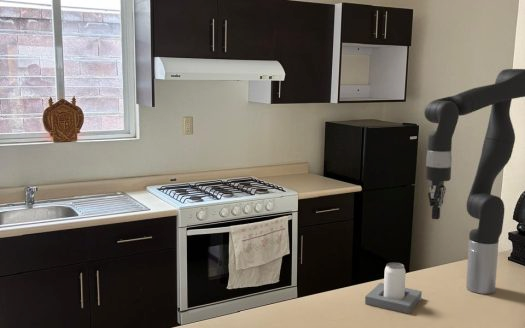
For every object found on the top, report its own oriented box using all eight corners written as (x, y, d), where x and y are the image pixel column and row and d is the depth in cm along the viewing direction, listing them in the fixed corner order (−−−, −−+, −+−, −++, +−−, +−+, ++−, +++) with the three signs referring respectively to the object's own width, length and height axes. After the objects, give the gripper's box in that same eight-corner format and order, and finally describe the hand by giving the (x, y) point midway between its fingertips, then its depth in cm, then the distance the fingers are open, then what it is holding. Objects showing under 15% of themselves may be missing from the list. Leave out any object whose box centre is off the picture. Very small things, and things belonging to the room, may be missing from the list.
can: (404, 306, 167) (406, 269, 166) (383, 304, 169) (385, 268, 167) (403, 298, 174) (405, 262, 172) (383, 296, 175) (384, 261, 173)
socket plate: (379, 289, 181) (380, 282, 180) (421, 298, 173) (421, 291, 173) (365, 303, 169) (365, 296, 169) (408, 313, 162) (409, 305, 161)
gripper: (446, 168, 159) (442, 224, 161) (455, 163, 170) (452, 216, 172) (420, 166, 163) (418, 221, 165) (431, 161, 174) (429, 213, 176)
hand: (435, 218), depth 169 cm, fingers closed
